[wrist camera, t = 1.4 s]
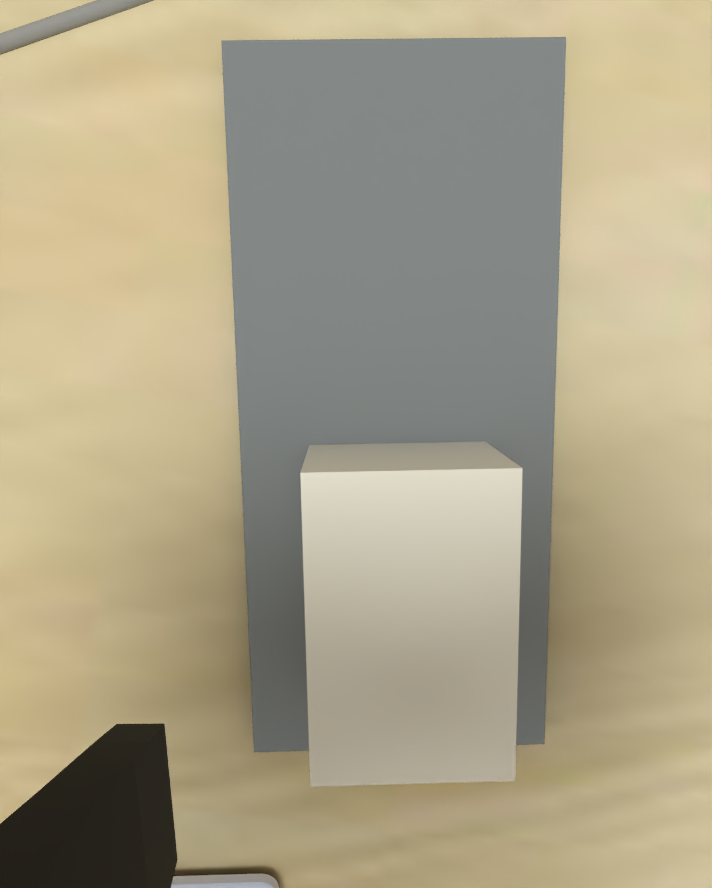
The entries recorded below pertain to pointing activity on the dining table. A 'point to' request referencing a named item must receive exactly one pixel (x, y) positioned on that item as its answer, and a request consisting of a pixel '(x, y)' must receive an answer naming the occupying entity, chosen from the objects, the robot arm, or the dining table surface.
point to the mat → (390, 297)
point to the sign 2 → (63, 22)
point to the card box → (411, 612)
